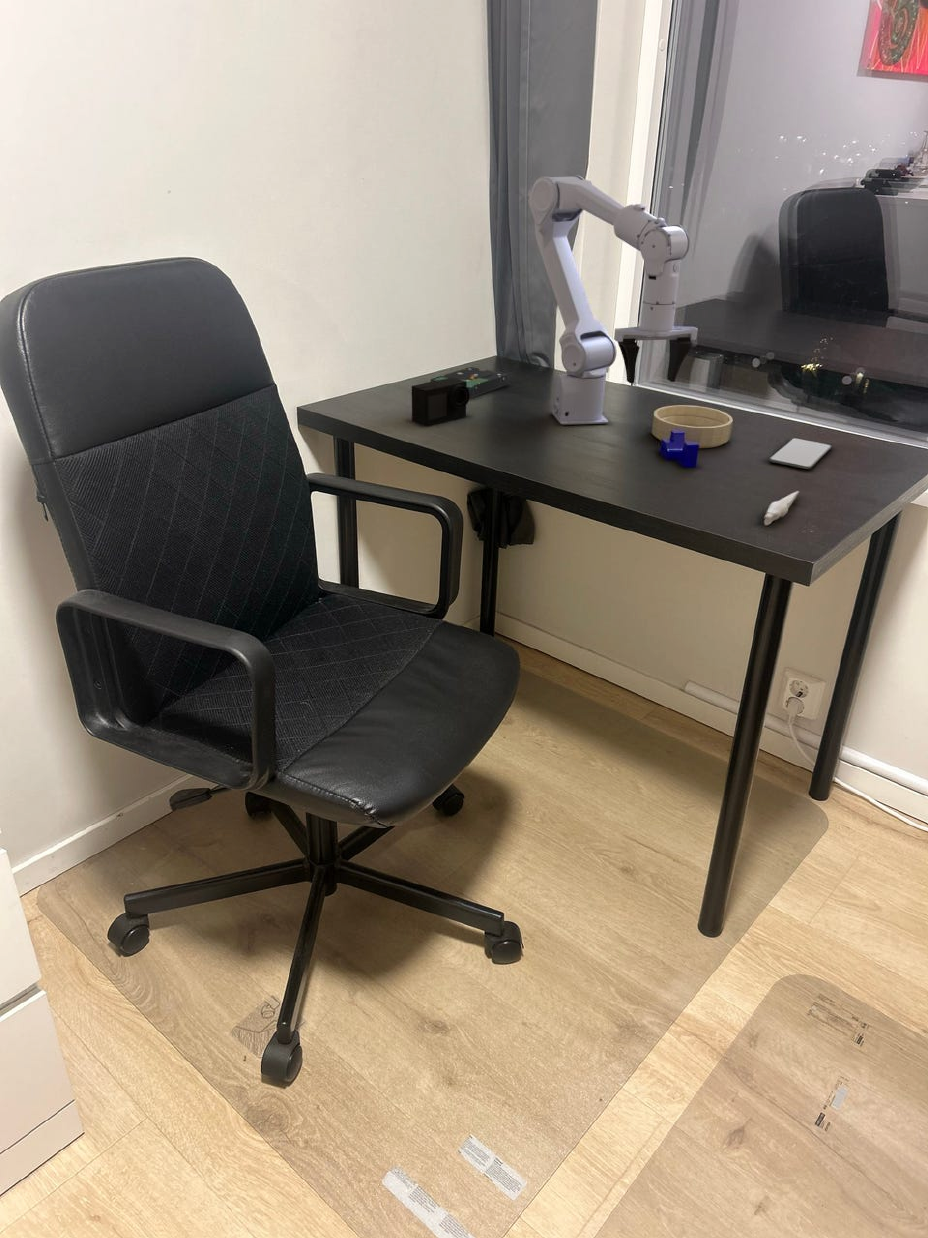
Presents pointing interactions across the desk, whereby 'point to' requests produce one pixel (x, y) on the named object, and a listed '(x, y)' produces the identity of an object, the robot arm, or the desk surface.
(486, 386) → the disk drive
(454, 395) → the digital camera
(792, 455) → the smartphone
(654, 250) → the robot arm
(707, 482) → the desk surface
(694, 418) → the bowl
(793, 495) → the spindle seashell
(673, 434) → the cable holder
